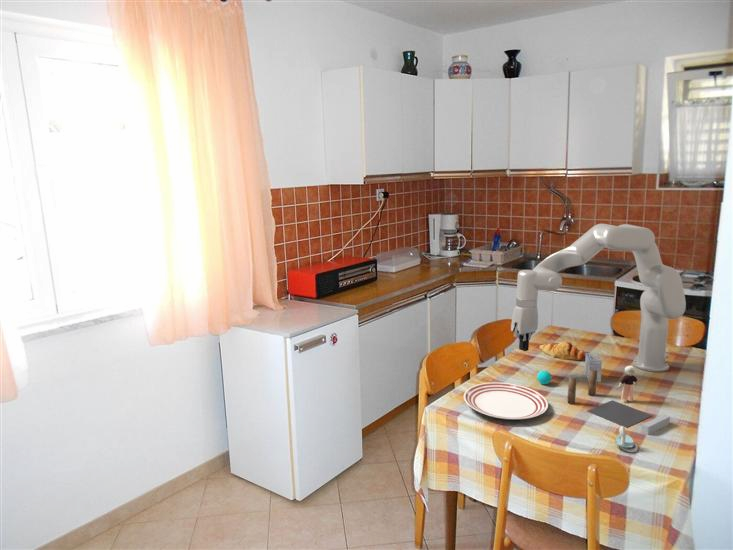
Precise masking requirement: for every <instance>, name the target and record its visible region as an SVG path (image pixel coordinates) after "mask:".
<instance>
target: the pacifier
mask: <svg viewBox="0 0 733 550" xmlns="http://www.w3.org/2000/svg"><path fill="white" fill-rule="evenodd" d="M625 428H626V427H624V426H621V425H620V427H619V429H618V432H619V434H617V435H616V437H615V441H616V442H615V443H614V445H615V446H618V447H619V448H620V449H621V450H624V451H625V452H627V453H636V452H637V451H638V450H639V446H638V445H637V443H636V442H634V440H633V438H632V437H631V436H630V435H628V434H626V429H625ZM631 448H632V449H631Z"/></svg>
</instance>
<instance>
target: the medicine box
mask: <svg viewBox="0 0 733 550" xmlns="http://www.w3.org/2000/svg"><path fill="white" fill-rule="evenodd" d="M584 360H585V361H584V362H585V363H584V375H585V378H586V379H587V381H588V382H589V374H590V369H595V370H597V381H596V383H601V382H602V367H603V365H602V364H603V361H602V359H601V357H600V355H599V354H598V353H595V352H594V353H593V352H590V353H589V352H588V353H587V352H586V358H585V359H584Z"/></svg>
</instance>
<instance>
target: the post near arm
mask: <svg viewBox="0 0 733 550" xmlns="http://www.w3.org/2000/svg"><path fill="white" fill-rule="evenodd" d="M596 381H597V370H595V369H590V374H589V381H588V389H587V390H588V393H587V396H590V397H596V394H597V393H596V392H597V382H596Z"/></svg>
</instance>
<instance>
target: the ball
mask: <svg viewBox="0 0 733 550" xmlns="http://www.w3.org/2000/svg"><path fill="white" fill-rule="evenodd" d="M536 377H537V378H536V379H537V382H539V383H540V384H542V385H548V384H549V383H550V382H551V381H552V375H551V372H549V371H547V370H541V371H539V372H538V373H537V375H536Z"/></svg>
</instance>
